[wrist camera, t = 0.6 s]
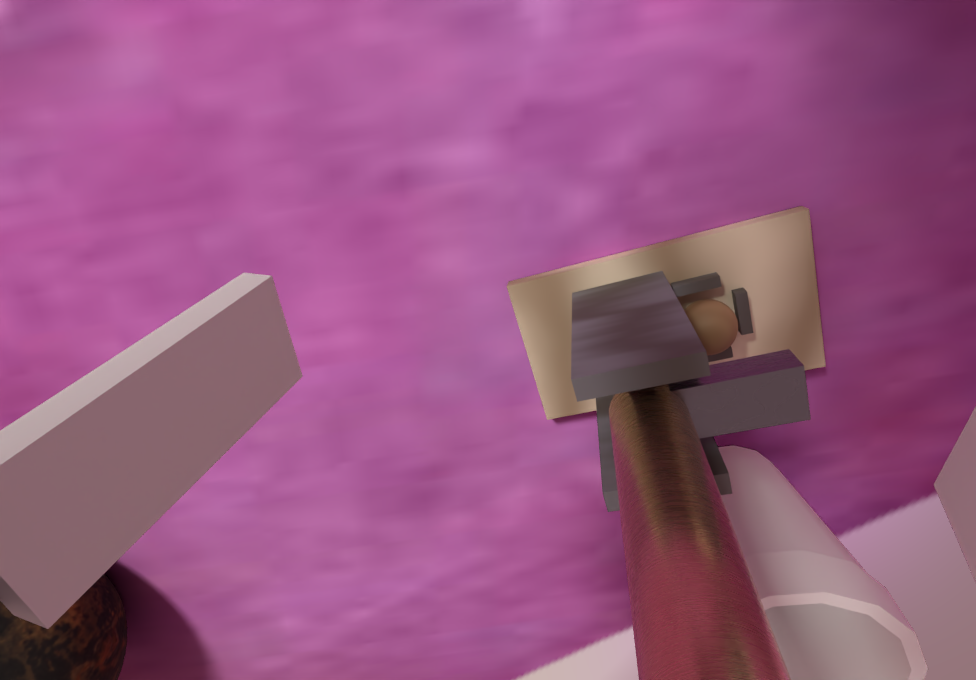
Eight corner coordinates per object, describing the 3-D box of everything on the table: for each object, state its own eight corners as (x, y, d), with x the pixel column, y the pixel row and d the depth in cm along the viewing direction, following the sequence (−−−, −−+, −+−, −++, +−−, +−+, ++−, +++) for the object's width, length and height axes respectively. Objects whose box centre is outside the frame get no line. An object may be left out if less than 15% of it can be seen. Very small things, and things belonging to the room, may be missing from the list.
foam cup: (704, 400, 34) (775, 557, 22) (838, 463, 34) (980, 652, 22) (626, 508, 37) (650, 693, 26) (747, 564, 38) (826, 771, 26)
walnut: (698, 281, 30) (711, 298, 27) (741, 311, 30) (758, 331, 27) (661, 323, 31) (670, 343, 28) (704, 352, 31) (716, 375, 29)
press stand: (548, 411, 35) (536, 546, 25) (508, 281, 33) (475, 368, 22) (818, 358, 32) (947, 490, 21) (801, 205, 29) (941, 264, 18)
